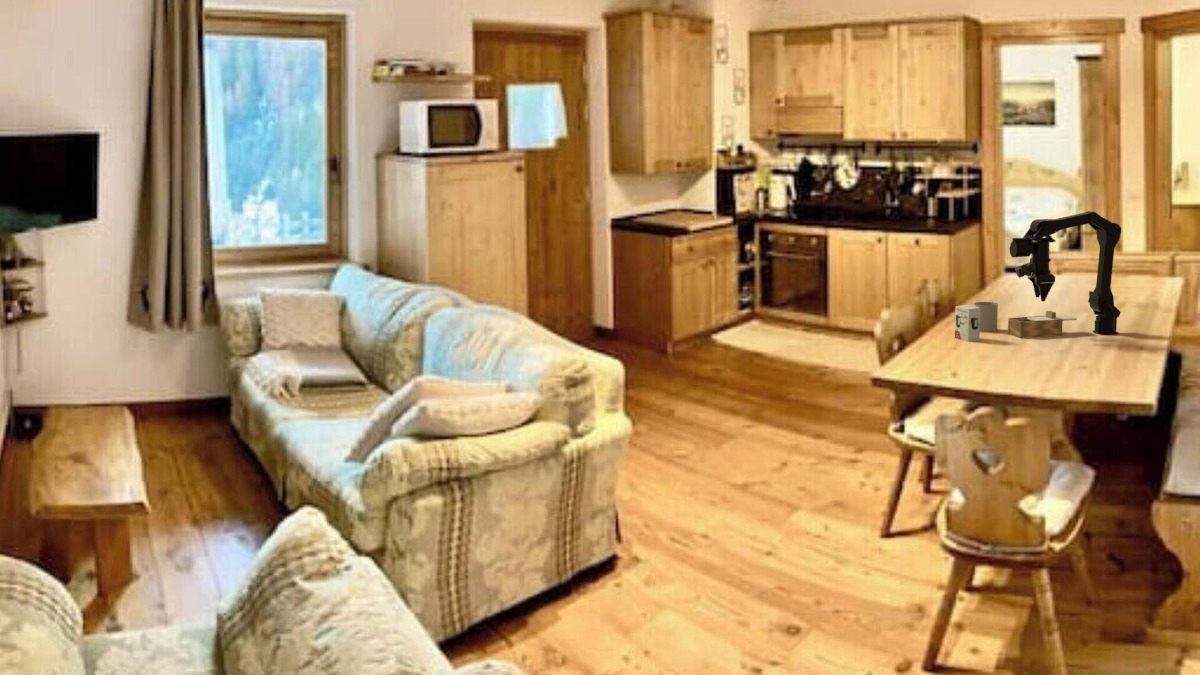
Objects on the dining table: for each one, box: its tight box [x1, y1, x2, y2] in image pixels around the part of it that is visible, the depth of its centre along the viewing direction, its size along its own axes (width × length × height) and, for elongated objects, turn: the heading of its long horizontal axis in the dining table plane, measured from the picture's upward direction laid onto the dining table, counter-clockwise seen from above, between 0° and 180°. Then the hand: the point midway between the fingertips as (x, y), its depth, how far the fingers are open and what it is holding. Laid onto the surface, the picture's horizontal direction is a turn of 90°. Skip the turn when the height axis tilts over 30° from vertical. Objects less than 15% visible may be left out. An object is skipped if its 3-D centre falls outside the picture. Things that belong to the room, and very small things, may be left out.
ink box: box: [954, 304, 981, 342], centre depth 429 cm, size 9×5×12 cm, turn 17°
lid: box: [1026, 310, 1078, 322], centre depth 434 cm, size 15×8×3 cm, turn 99°
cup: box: [973, 301, 999, 333], centre depth 445 cm, size 8×8×10 cm
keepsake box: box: [1007, 315, 1064, 339], centre depth 434 cm, size 16×9×6 cm, turn 99°
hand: (1040, 299), depth 427 cm, fingers open, 9 cm apart
